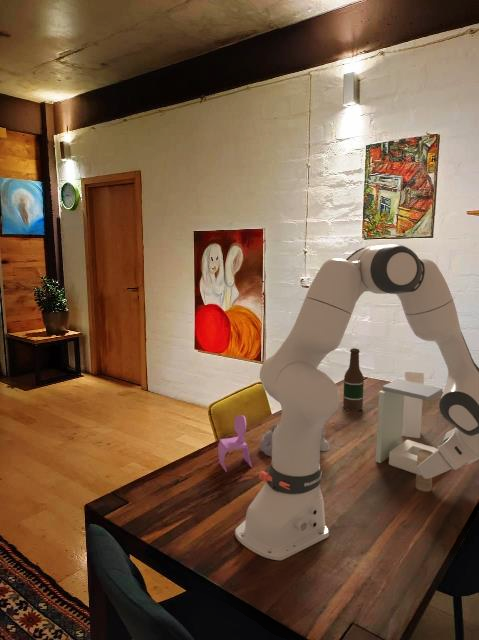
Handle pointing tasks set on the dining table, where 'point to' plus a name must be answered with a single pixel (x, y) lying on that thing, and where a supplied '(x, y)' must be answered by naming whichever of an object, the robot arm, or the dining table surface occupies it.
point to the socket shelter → (399, 423)
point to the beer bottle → (353, 383)
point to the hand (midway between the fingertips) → (422, 468)
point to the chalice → (323, 441)
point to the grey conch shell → (267, 441)
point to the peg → (421, 482)
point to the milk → (412, 408)
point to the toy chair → (235, 442)
